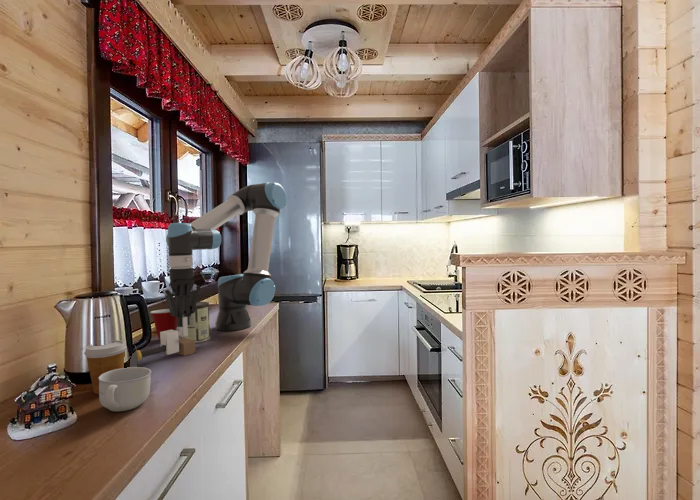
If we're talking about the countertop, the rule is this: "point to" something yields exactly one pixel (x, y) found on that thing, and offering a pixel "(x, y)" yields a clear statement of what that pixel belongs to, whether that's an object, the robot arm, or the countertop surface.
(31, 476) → the countertop surface
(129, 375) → the teacup
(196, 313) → the coffee can
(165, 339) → the white upright block
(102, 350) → the disposable coffee cup
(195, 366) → the countertop surface
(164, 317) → the plastic cup
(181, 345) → the cord rail
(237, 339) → the countertop surface
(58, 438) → the countertop surface
